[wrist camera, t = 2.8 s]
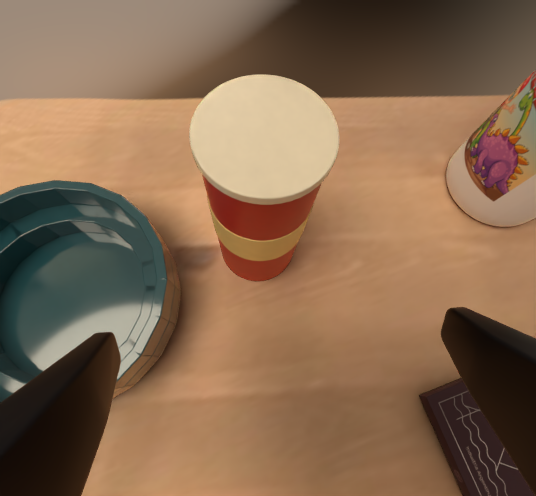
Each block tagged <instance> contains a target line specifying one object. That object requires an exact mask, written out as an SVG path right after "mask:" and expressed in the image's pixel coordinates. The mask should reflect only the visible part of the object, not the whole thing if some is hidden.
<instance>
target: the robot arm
mask: <svg viewBox="0 0 536 496" xmlns="http://www.w3.org/2000/svg"><path fill="white" fill-rule="evenodd" d="M441 337H442V340H443V342H444V344H445V346H446V348H447V350H448V352H449V354H450V356H451V358H452V360H453V362H454V364H455V366H456V368H457V370H458V372H459V374H460V376H461V378H462V380H463V382H464V384H465V385H466V387H467V389H468V391H469V393H470V394H471V396H472V398H473V399H474V401H475V402H476V404H477V405H478V407H479V409H480V410H481V412H482V413H483V415H484V416H485V418H486V420H487V421H488V423H489V424H490V426H491V428H492V429H493V431H494V432H495V434H496V435H497V437H498V439H499V440H500V442H501V443H502V445H503V446H504V448H505V450H506V451H507V453H508V454H509V456H510V457H511V459H512V461H513V462H514V464H515V465H516V467H517V468H518V470H519V472H520V473H521V475H522V476H523V478H524V479H525V481H526V483H527V484H528V486H529V487H530V489H531V490H532V492H533V494H534V495H535V496H536V339H535V338H533V337H531V336H529V335H526V334H524V333H522V332H520V331H517V330H515V329H513V328H510V327H508V326H506V325H504V324H501V323H499V322H497V321H495V320H492V319H490V318H488V317H486V316H483V315H481V314H479V313H477V312H474V311H472V310H470V309H467V308H465V307H456V308H450V309H448V310H447V312H446V315H445V319H444V322H443V326H442V329H441ZM120 364H121V356H120V352H119V349H118V345H117V342H116V338H115V335H114V334H113V333H112V332H100V333H95V334H93V335H92V336H91V337H89V338H88V339H86V340H85V341H84V342H82V343H81V344H80V345H78V346H77V347H76V348H74V349H73V350H71V351H70V352H69V353H67V354H66V355H65V356H63V357H62V358H61V359H59V360H58V361H57V362H55V363H54V364H52V365H51V366H50V367H48V368H47V369H46V370H44V371H43V372H42V373H40V374H39V375H37V376H36V377H35V378H33V379H32V380H31V381H29V382H28V383H27V384H25V385H24V386H23V387H21V388H20V389H18V390H17V391H16V392H14V393H13V394H12V395H10V396H9V397H8V398H6V399H5V400H3V401H2V402H1V403H0V496H81V495H82V492H83V489H84V486H85V483H86V481H87V478H88V475H89V472H90V469H91V466H92V463H93V461H94V458H95V455H96V452H97V449H98V446H99V444H100V441H101V438H102V435H103V432H104V429H105V426H106V423H107V419H108V415H109V411H110V407H111V403H112V399H113V394H114V390H115V386H116V382H117V377H118V373H119V369H120Z"/></svg>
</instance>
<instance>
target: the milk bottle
mask: <svg viewBox="0 0 536 496" xmlns="http://www.w3.org/2000/svg"><path fill="white" fill-rule="evenodd" d="M446 180H447V186H448V189H449V192H450V194H451V196H452V198H453V199H454V201H455V202H456V203H457V205H458V206H459V207H460V208H461V209H462V210H463V211H464V212H465V213H466V214H468V215H469V216H471V217H472V218H474V219H476V220H478V221H480V222H482V223H485V224H489V225H492V226H500V227H510V226H517V225H521V224H524V223H526V222H528V221H530V220H532V219H535V218H536V70H535V71H534V72H533V73H532V74H531V75H530V76H529V77H528V78H527V79H526V80H525V81H524V82H523V83H522V84H521V85H520V86H519V87H518V88H517V89H516V90H515V91H514V92H513V93H512V94H511V95H510V96H509V97H508V98H507V99H506V100H505V101H504V102H503V103H502V104H501V105H500V106H499V107H498V108H497V109H496V110H495V111H494V112H493V114H492V115H491V116H490V117H489V118H488V119H487V120H486V121H485V122H484V123H483V124H482V125H481V126H480V127H479V128H478V129H477V130H476V131H475V132H474V133H473V134H472V135H471V136H470V137H469V138H468V139H467V140H466V141H465V142H464V143H463V144H462V145H461V147H460V148H459V149H458V150H457V151H456V152H455V153H454V154H453V156H452V157H451V159H450V161H449V164H448V167H447V174H446Z"/></svg>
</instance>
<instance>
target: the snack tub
mask: <svg viewBox="0 0 536 496" xmlns="http://www.w3.org/2000/svg"><path fill="white" fill-rule="evenodd" d="M189 138H190V146H191V149H192V153H193V157H194V160H195V162H196V164H197V167H198V168H199V170H200V171H201V173H202V176H203V180H204V184H205V187H206V191H207V197H208V203H209V207H210V211H211V215H212V219H213V223H214V226H215V230H216V233H217V235H218V239H219V243H220V247H221V251H222V254H223V258H224V260H225V262H226V264H227V266H228V267H229V268H230V269H231V270H232V271H233V272H234V273H235V274H237V275H238V276H240V277H242V278H244V279H247V280H251V281H264V280H268V279H271V278H273V277H275V276H277V275H279V274H280V273H281V272H283V270H284V269H285V268H286V267H287V266H288V264H289V262H290V260H291V258H292V255H293V253H294V250H295V248H296V245H297V243H298V241H299V239H300V237H301V235H302V233H303V230H304V228H305V225H306V223H307V221H308V218H309V216H310V213H311V211H312V208H313V203H314V200H315V198H316V195H317V193H318V190H319V188H320V186H321V183H322V182H323V181H324V179H325V178H326V177H327V175H328V174H329V172H330V170H331V169H332V167H333V164H334V162H335V159H336V156H337V154H338V149H339V130H338V126H337V123H336V120H335V117H334V115H333V113H332V111H331V110H330V108H329V107H328V105H327V104H326V103H325V102H324V100H323V99H322V98H321V97H319V96H318V95H317V94H316V93H315V92H313V91H312V90H311V89H309V88H308V87H306V86H304V85H303V84H300V83H298V82H296V81H294V80H291V79H288V78H284V77H280V76H274V75H249V76H244V77H239V78H236V79H232V80H230V81H228V82H225V83H223V84H222V85H220V86H218V87H217V88H215V89H214V90H212V91H211V92H210V93H209V94H208V95H207V96H206V97H205V98H204V99H203V100H202V101H201V102H200V104H199V105H198V107H197V109H196V110H195V112H194V115H193V117H192V120H191V125H190V133H189Z"/></svg>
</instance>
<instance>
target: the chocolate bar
mask: <svg viewBox="0 0 536 496" xmlns="http://www.w3.org/2000/svg"><path fill="white" fill-rule="evenodd" d="M419 397H420V399H421V401H422V404H423V406H424V408H425V410H426V413H427V415H428V417H429V419H430V422H431V424H432V426H433V428H434V431H435V433H436V435H437V438H438V440H439V442H440V444H441V447H442V449H443V451H444V453H445V456H446V458H447V460H448V462H449V465H450V467H451V469H452V472H453V474H454V476H455V478H456V481H457V483H458V485H459V487H460V490H461V492H462V494H463V496H535V495H534V494H533V492H532V490H531V489H530V487H529V486H528V484H527V483H526V481H525V479H524V478H523V476H522V475H521V473H520V472H519V470H518V468H517V467H516V465H515V464H514V462H513V461H512V459H511V457H510V456H509V454H508V453H507V451H506V450H505V448H504V446H503V445H502V443H501V442H500V440H499V439H498V437H497V435H496V434H495V432H494V431H493V429H492V428H491V426H490V424H489V423H488V421H487V420H486V418H485V416H484V415H483V413H482V412H481V410H480V409H479V407H478V405H477V404H476V402H475V401H474V399H473V398H472V396H471V394H470V393H469V391H468V389H467V387H466V385H465V384H464V382H463V380H462V378H460V379H458V380H455V381H453V382H450V383H448V384H445V385H443V386H441V387H438V388H436V389H433V390H431V391H428V392H426V393H423V394H421V395H419Z"/></svg>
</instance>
